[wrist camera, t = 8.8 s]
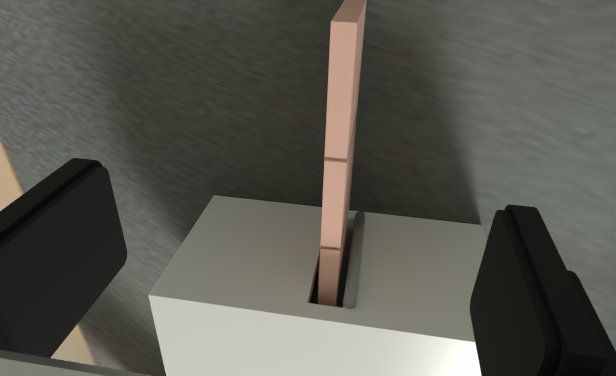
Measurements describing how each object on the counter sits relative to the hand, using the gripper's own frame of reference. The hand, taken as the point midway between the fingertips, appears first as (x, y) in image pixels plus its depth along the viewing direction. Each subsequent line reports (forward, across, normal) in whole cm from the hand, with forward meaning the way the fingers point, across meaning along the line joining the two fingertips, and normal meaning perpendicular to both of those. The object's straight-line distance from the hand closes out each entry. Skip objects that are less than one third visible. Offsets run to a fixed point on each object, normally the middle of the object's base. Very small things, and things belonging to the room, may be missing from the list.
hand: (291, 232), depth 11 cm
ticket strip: (+20, 0, +7) cm, 21 cm away
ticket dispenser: (+22, 0, +20) cm, 30 cm away
